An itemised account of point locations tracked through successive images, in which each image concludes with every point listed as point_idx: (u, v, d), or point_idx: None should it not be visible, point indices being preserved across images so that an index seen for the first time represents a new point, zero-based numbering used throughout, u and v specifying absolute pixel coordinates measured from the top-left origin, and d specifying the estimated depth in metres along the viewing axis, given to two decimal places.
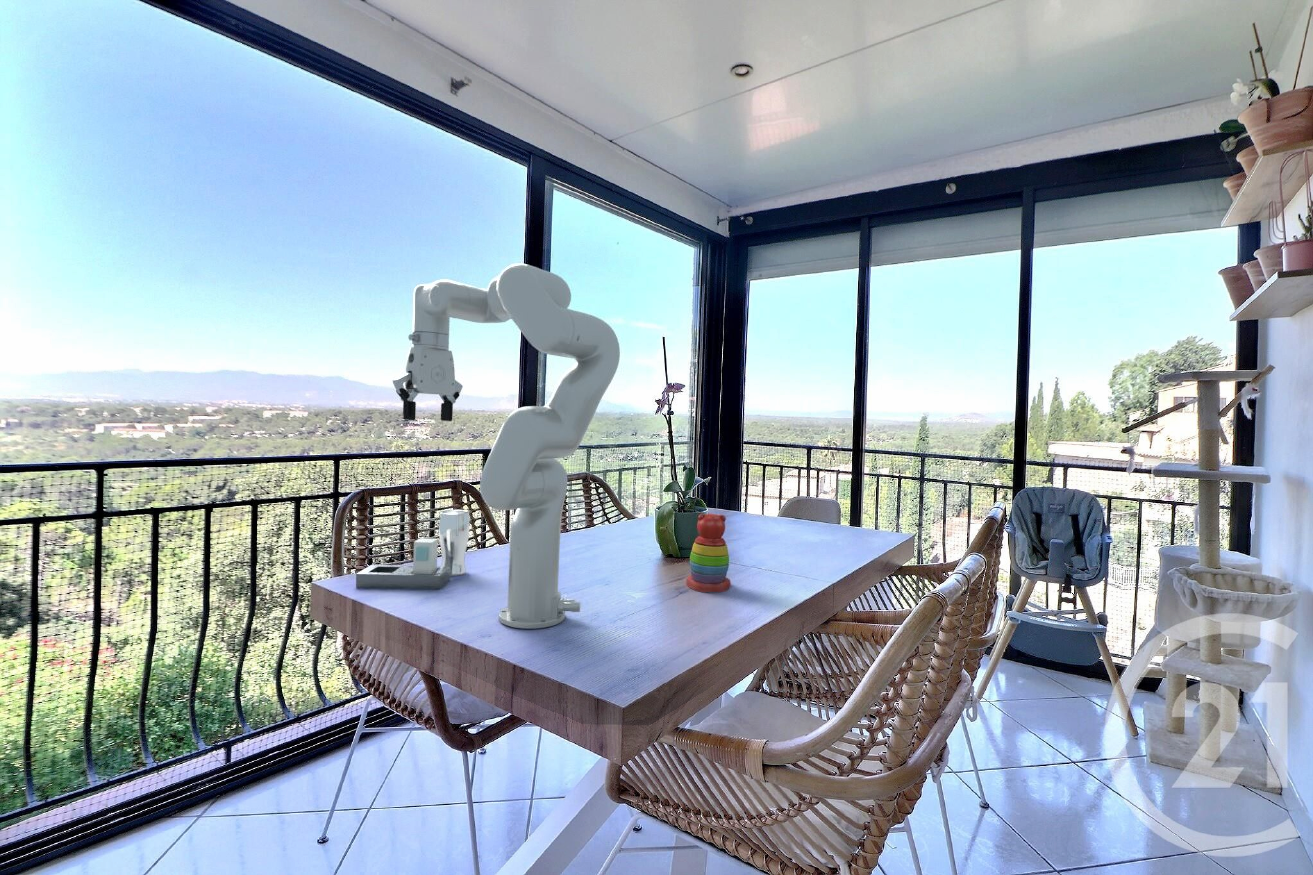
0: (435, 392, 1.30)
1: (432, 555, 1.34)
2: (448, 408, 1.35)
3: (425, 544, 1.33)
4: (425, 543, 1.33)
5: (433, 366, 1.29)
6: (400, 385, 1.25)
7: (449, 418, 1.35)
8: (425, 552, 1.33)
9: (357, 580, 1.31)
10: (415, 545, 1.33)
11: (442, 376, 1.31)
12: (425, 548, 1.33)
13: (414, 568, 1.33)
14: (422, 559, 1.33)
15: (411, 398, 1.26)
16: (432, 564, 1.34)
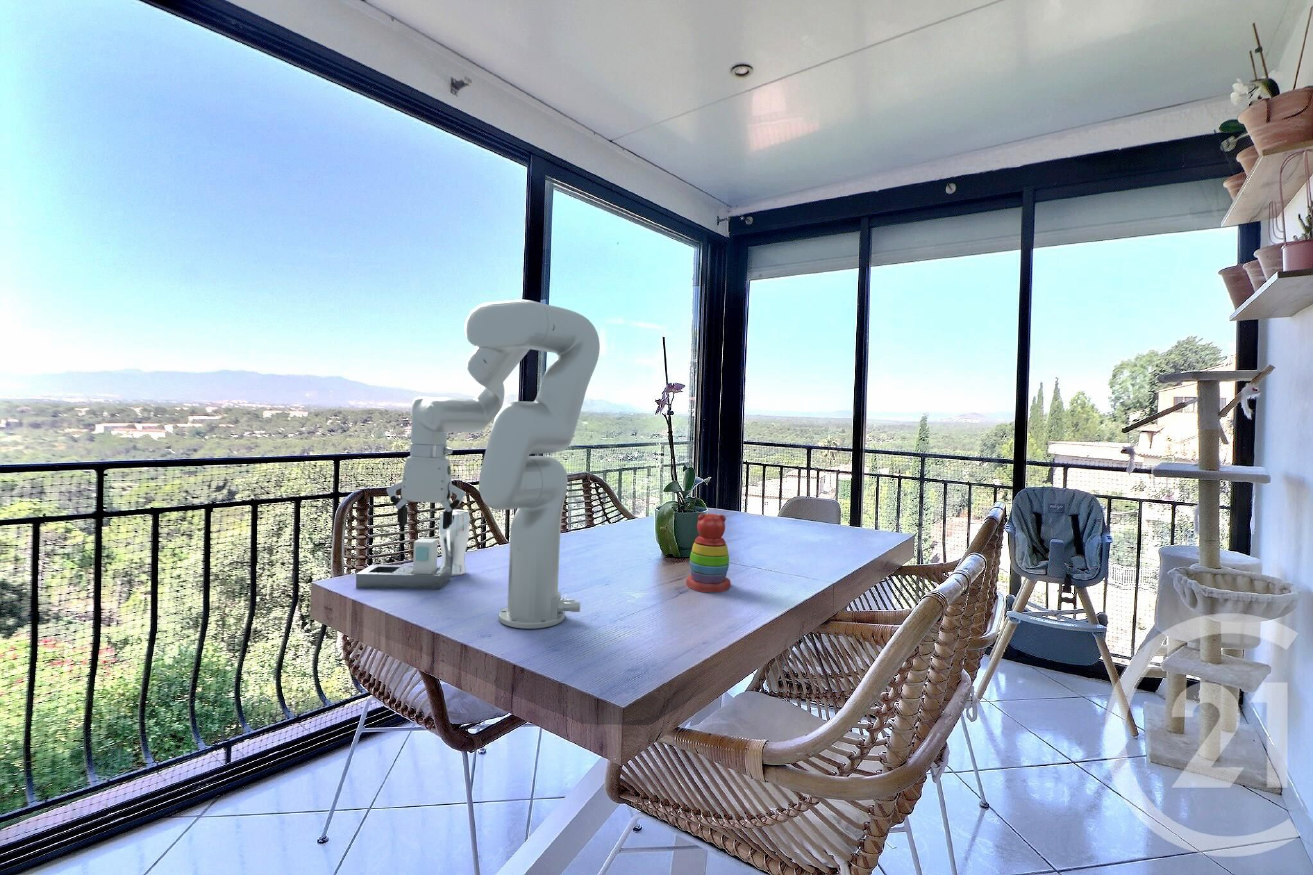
0: None
1: (432, 555, 1.34)
2: (406, 512, 1.36)
3: (425, 544, 1.33)
4: (425, 543, 1.33)
5: None
6: None
7: (406, 521, 1.37)
8: (425, 552, 1.33)
9: (357, 580, 1.31)
10: (415, 545, 1.33)
11: None
12: (425, 548, 1.33)
13: (414, 568, 1.33)
14: (422, 559, 1.33)
15: None
16: (432, 564, 1.34)
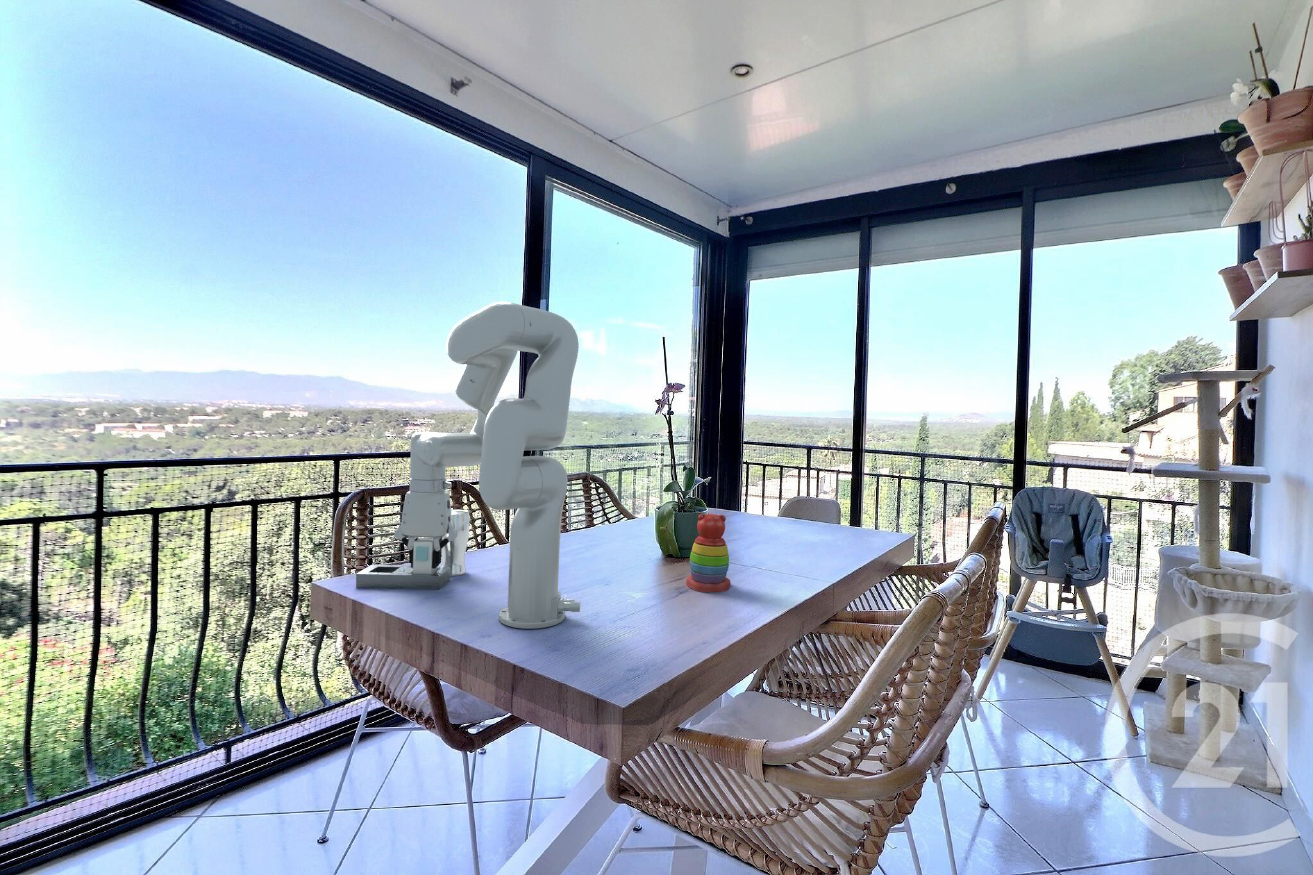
0: None
1: None
2: None
3: (425, 544, 1.33)
4: (425, 543, 1.33)
5: None
6: None
7: None
8: (425, 552, 1.33)
9: (357, 580, 1.31)
10: (415, 545, 1.33)
11: None
12: (425, 548, 1.33)
13: (414, 568, 1.33)
14: (422, 559, 1.33)
15: None
16: None
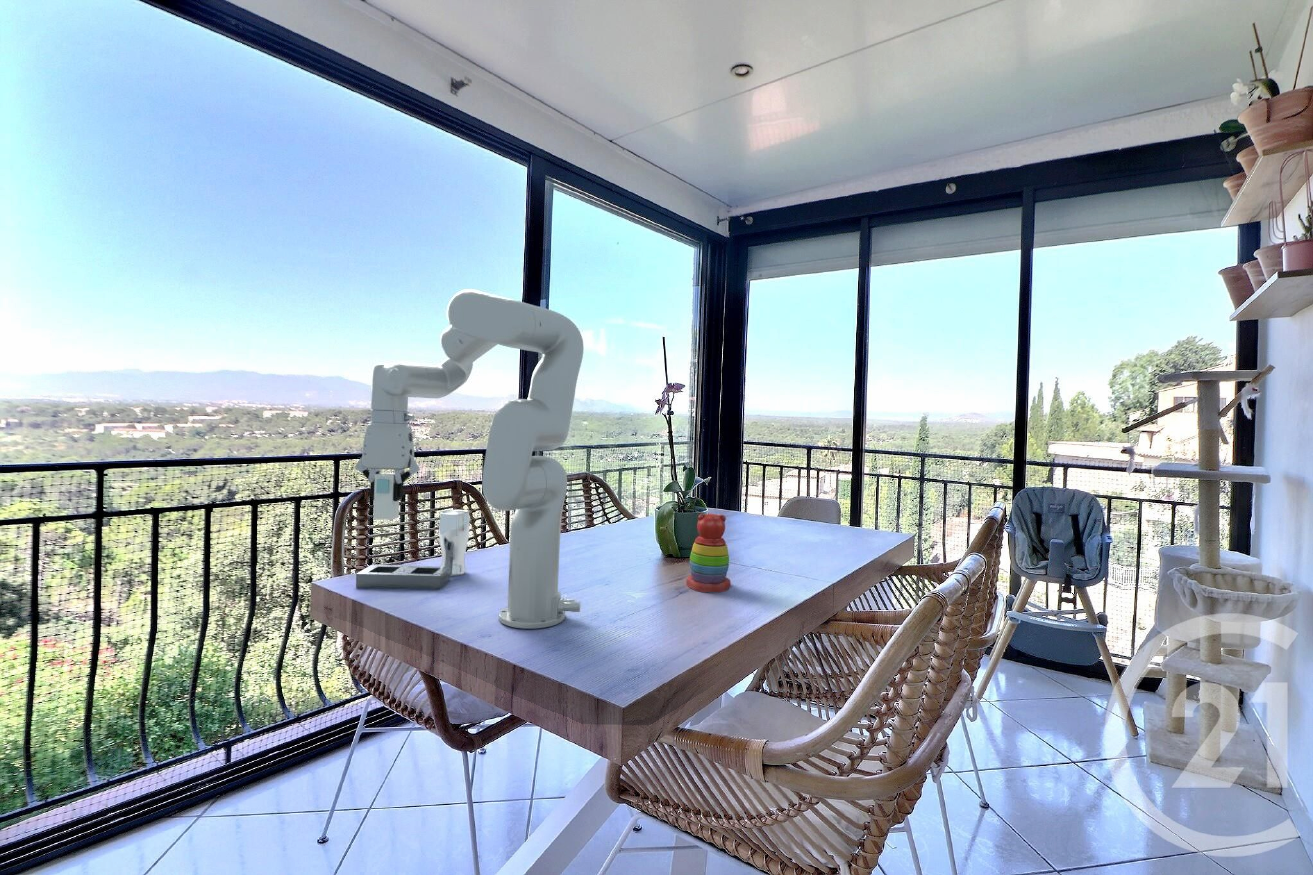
0: None
1: (393, 488, 1.33)
2: None
3: (386, 476, 1.32)
4: (386, 476, 1.32)
5: None
6: None
7: None
8: (386, 484, 1.32)
9: (357, 580, 1.31)
10: (376, 477, 1.32)
11: None
12: (386, 480, 1.32)
13: (375, 501, 1.33)
14: (383, 491, 1.32)
15: None
16: None
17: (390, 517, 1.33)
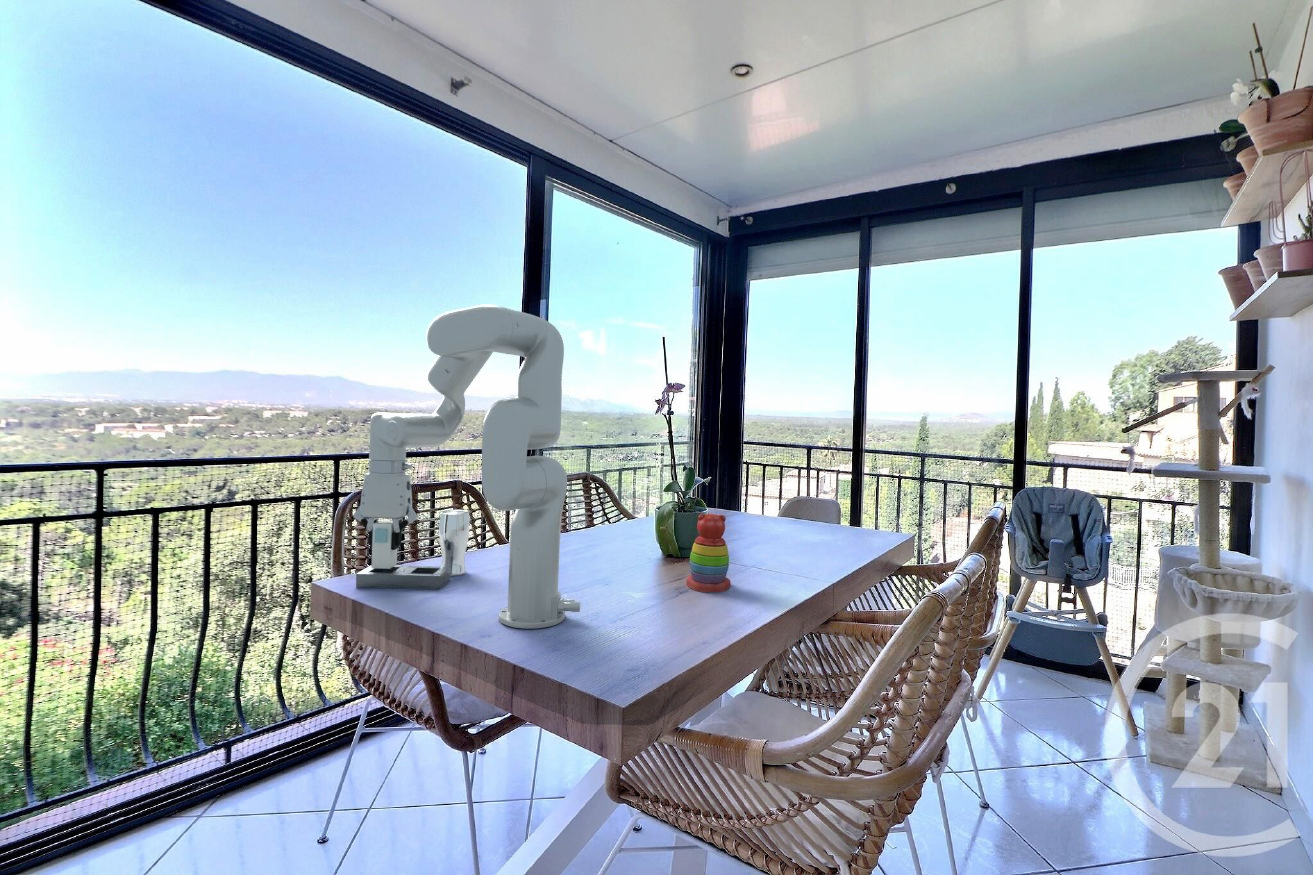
0: None
1: (391, 537, 1.34)
2: None
3: (384, 526, 1.33)
4: (384, 525, 1.33)
5: None
6: None
7: None
8: (384, 534, 1.32)
9: (357, 580, 1.31)
10: (374, 527, 1.33)
11: None
12: (384, 530, 1.32)
13: (373, 550, 1.33)
14: (381, 541, 1.32)
15: None
16: None
17: (388, 566, 1.33)
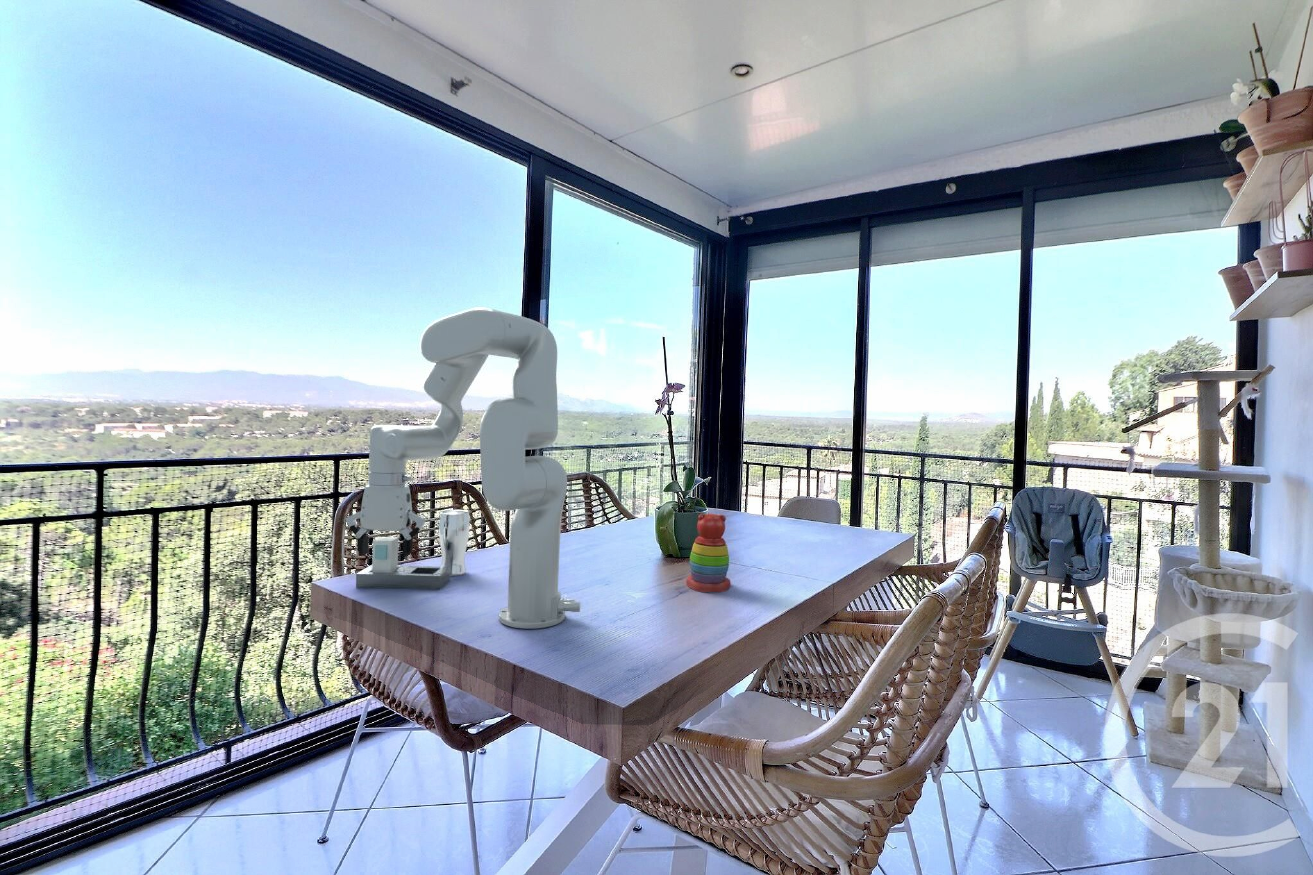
0: None
1: (391, 554, 1.34)
2: (367, 541, 1.36)
3: (384, 542, 1.33)
4: (384, 542, 1.33)
5: None
6: None
7: (367, 550, 1.36)
8: (384, 551, 1.32)
9: (357, 580, 1.31)
10: (374, 544, 1.33)
11: None
12: (384, 547, 1.32)
13: (373, 567, 1.33)
14: (381, 558, 1.32)
15: None
16: (392, 563, 1.34)
17: None
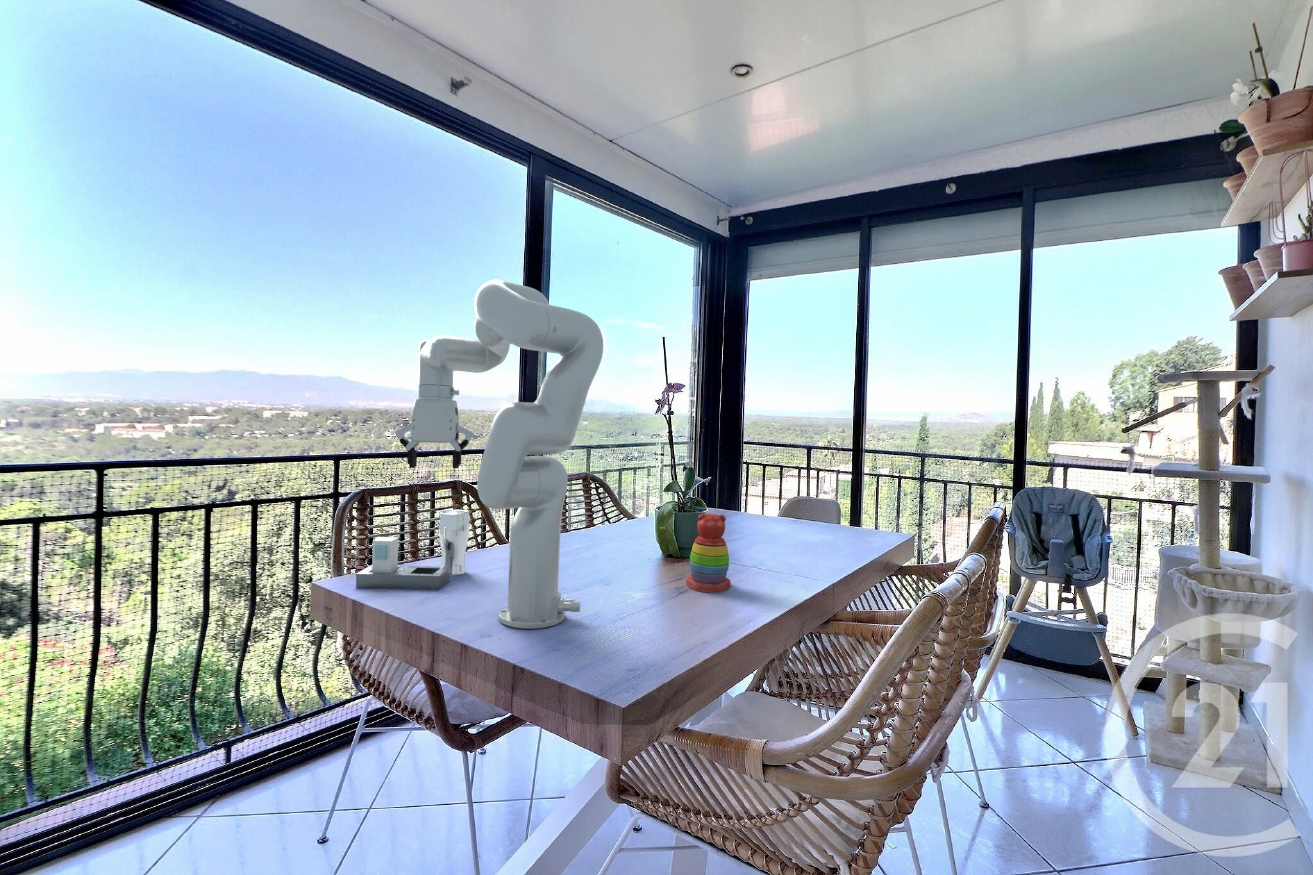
0: None
1: (391, 554, 1.34)
2: (416, 455, 1.39)
3: (384, 542, 1.33)
4: (384, 542, 1.33)
5: None
6: None
7: (416, 464, 1.39)
8: (384, 551, 1.32)
9: (357, 580, 1.31)
10: (374, 544, 1.33)
11: None
12: (384, 547, 1.32)
13: (373, 567, 1.33)
14: (381, 558, 1.32)
15: None
16: (392, 563, 1.34)
17: None
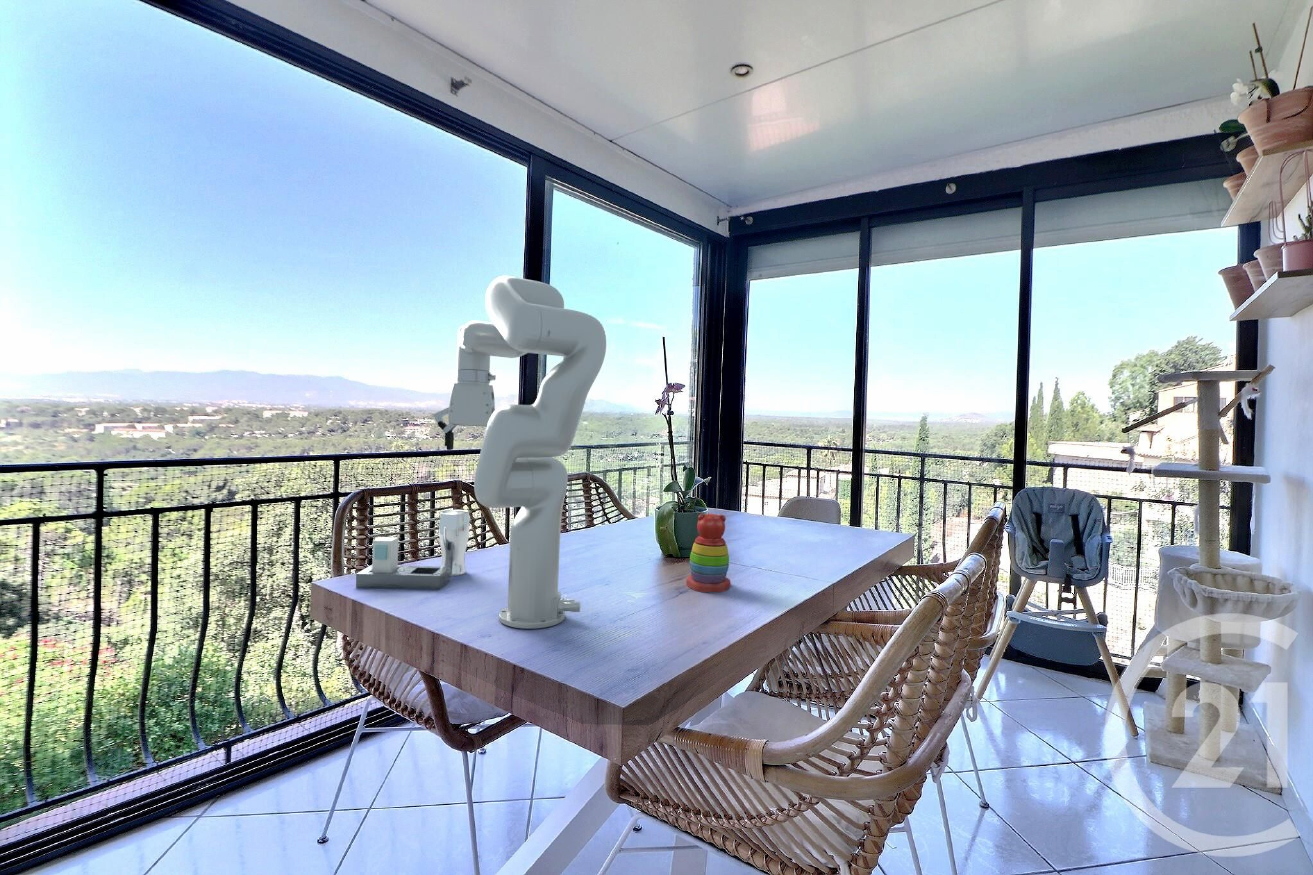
0: None
1: (391, 554, 1.34)
2: (453, 437, 1.43)
3: (384, 542, 1.33)
4: (384, 542, 1.33)
5: None
6: None
7: (452, 447, 1.43)
8: (384, 551, 1.32)
9: (357, 580, 1.31)
10: (374, 544, 1.33)
11: None
12: (384, 547, 1.32)
13: (373, 567, 1.33)
14: (381, 558, 1.32)
15: None
16: (392, 563, 1.34)
17: None
